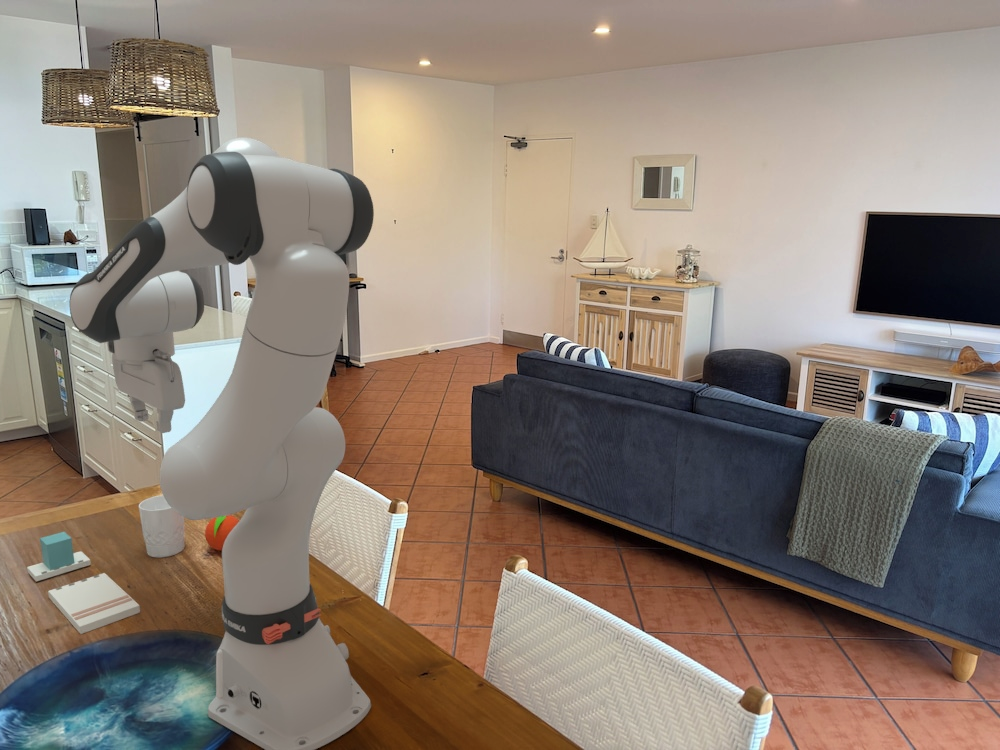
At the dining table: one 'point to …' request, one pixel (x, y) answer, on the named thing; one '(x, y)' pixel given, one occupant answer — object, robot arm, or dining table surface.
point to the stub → (57, 557)
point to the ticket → (93, 602)
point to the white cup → (161, 527)
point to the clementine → (219, 530)
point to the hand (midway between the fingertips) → (152, 425)
